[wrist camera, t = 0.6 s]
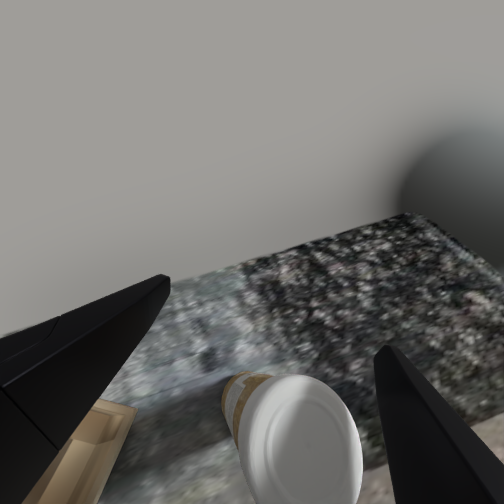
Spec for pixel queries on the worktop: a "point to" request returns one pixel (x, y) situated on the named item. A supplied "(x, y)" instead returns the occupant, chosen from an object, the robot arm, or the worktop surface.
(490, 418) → the worktop surface
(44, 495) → the caddy
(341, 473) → the sprinkles bottle
